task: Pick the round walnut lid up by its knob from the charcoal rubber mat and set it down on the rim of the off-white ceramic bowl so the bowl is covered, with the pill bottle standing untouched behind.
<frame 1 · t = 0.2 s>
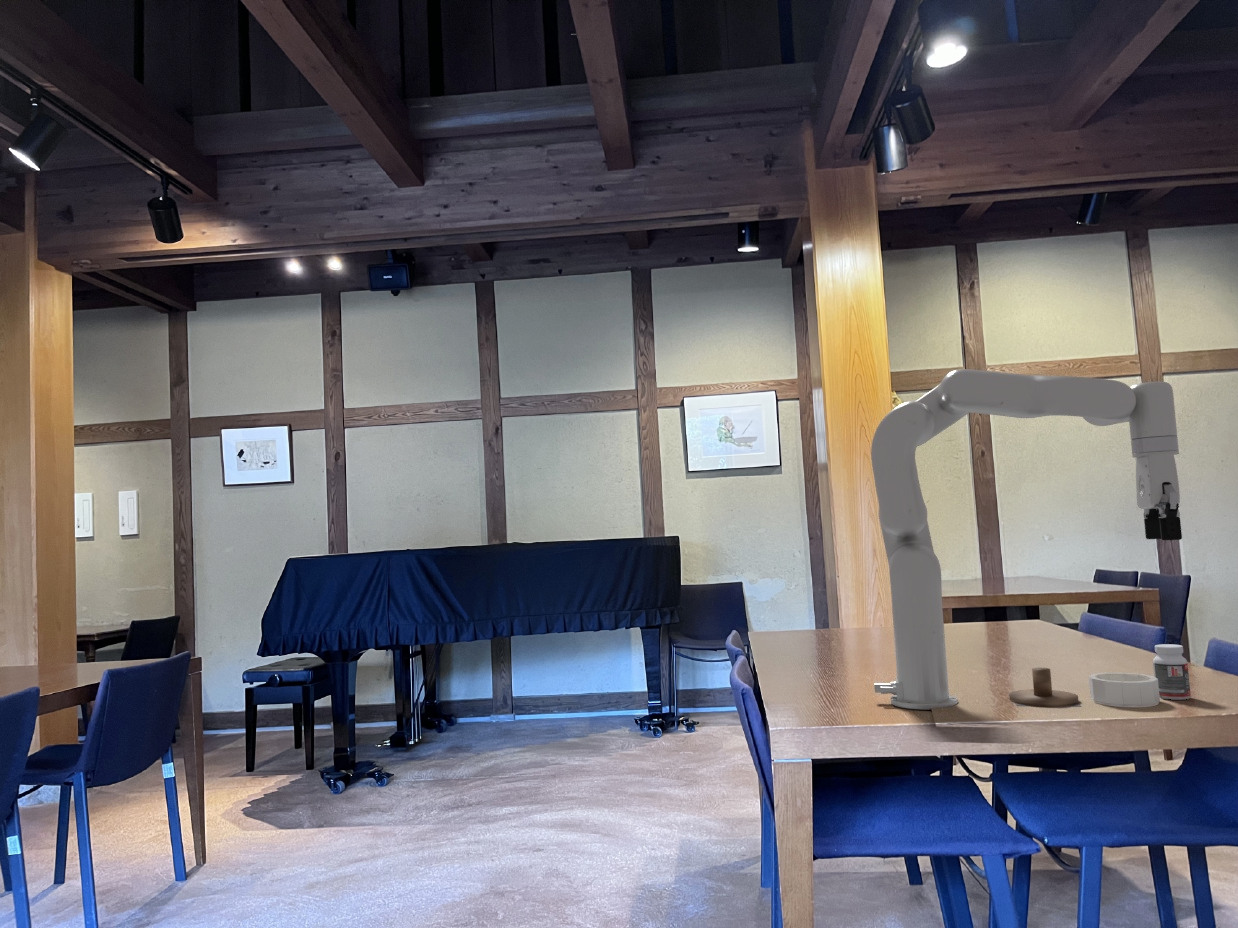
hand: (1163, 539, 164), 31 cm above the table, tool pointing down, fingers open, 9 cm apart
lid: (1043, 700, 170), point 1 cm above the table, touching mat
pill bottle: (1173, 698, 170), on the table
bowl: (1125, 704, 166), on the table
mat: (1043, 703, 170), on the table
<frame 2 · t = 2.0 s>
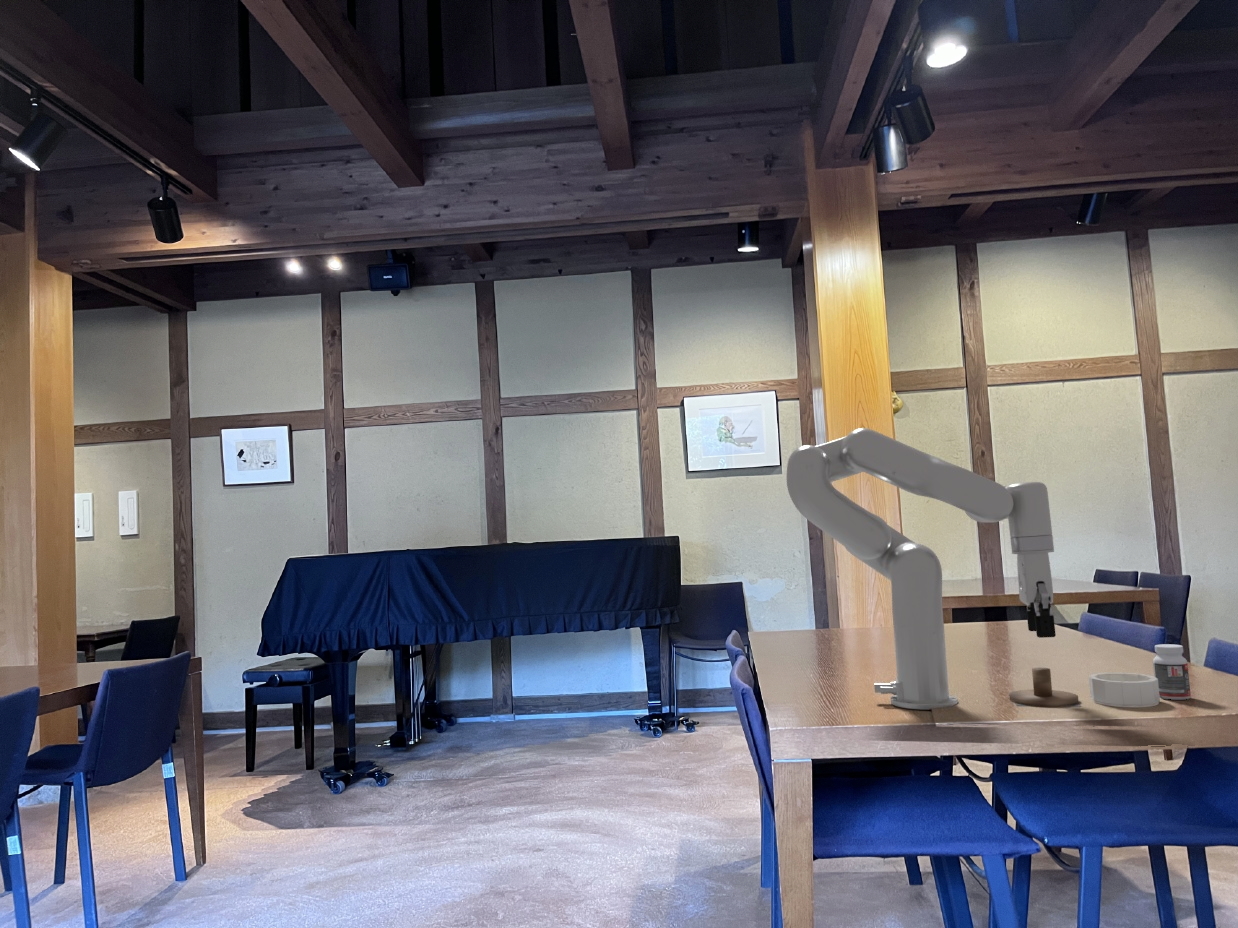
hand: (1041, 633, 171), 13 cm above the table, tool pointing down, fingers open, 9 cm apart
nothing on the table moved.
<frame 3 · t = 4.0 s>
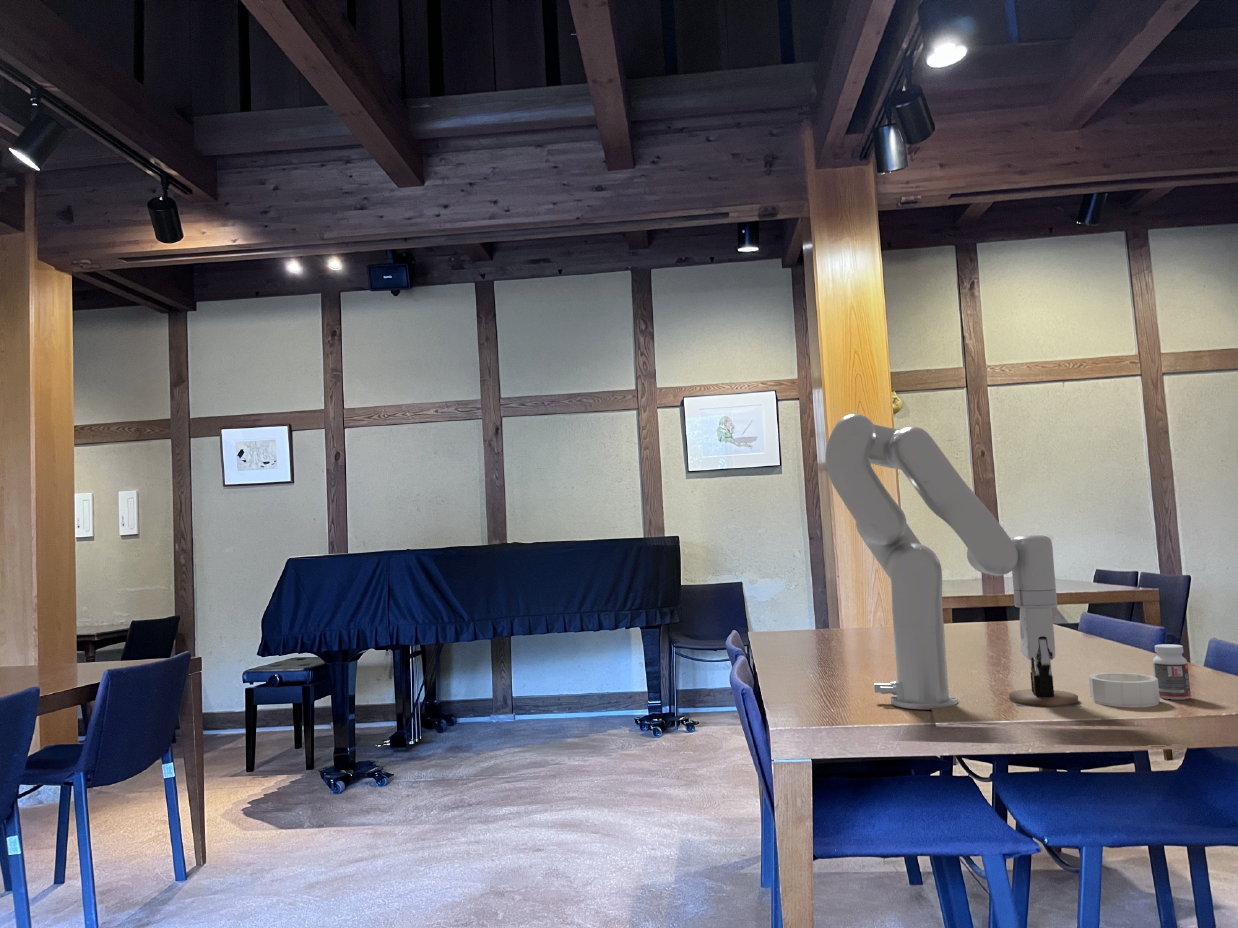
hand: (1042, 693, 170), 2 cm above the table, tool pointing down, fingers closed on lid, 3 cm apart
lid: (1043, 700, 170), point 1 cm above the table, touching gripper, mat
everything else where it was.
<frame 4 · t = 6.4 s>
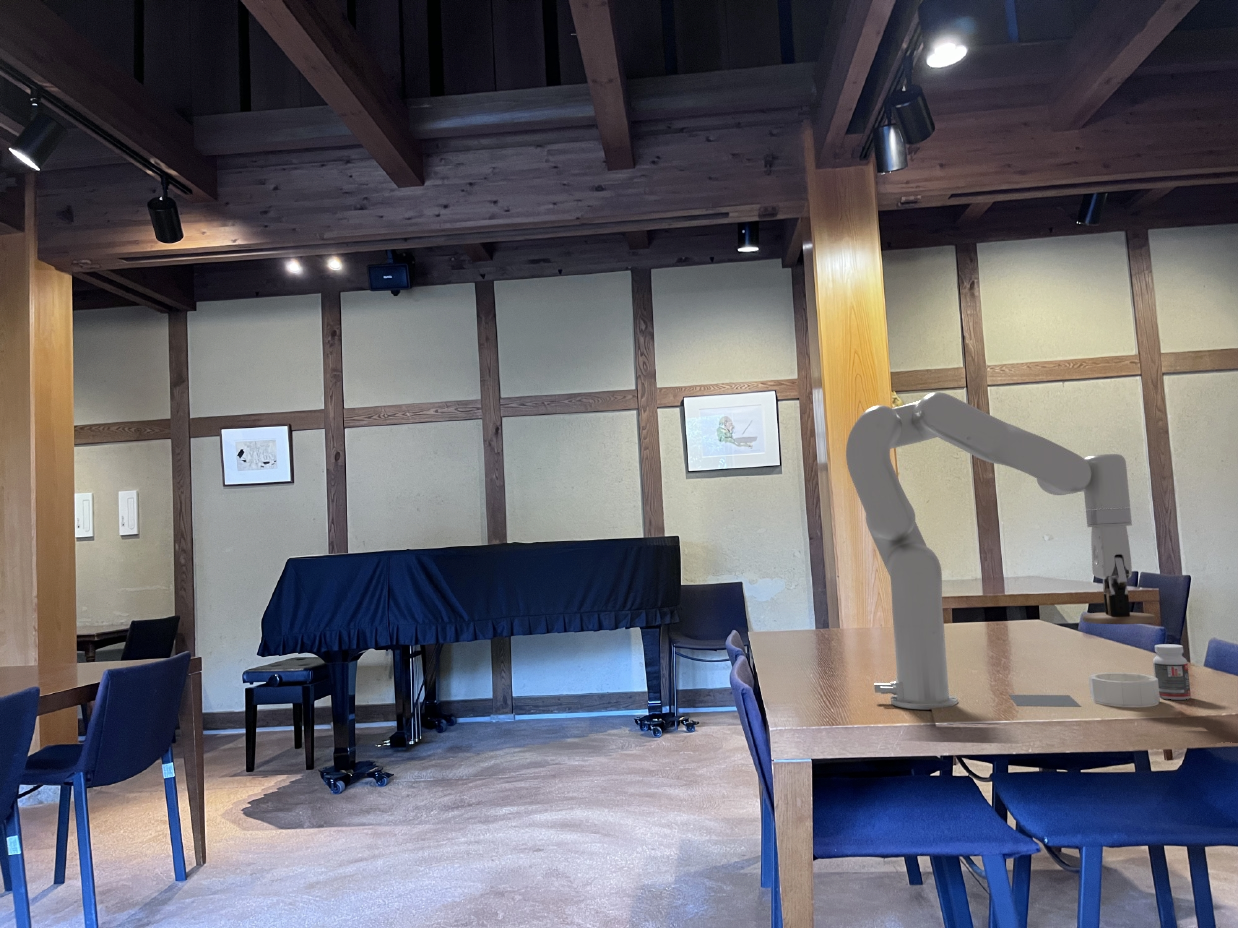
hand: (1117, 614, 167), 17 cm above the table, tool pointing down, fingers closed on lid, 3 cm apart
lid: (1118, 620, 167), point 16 cm above the table, touching gripper
everything else where it was.
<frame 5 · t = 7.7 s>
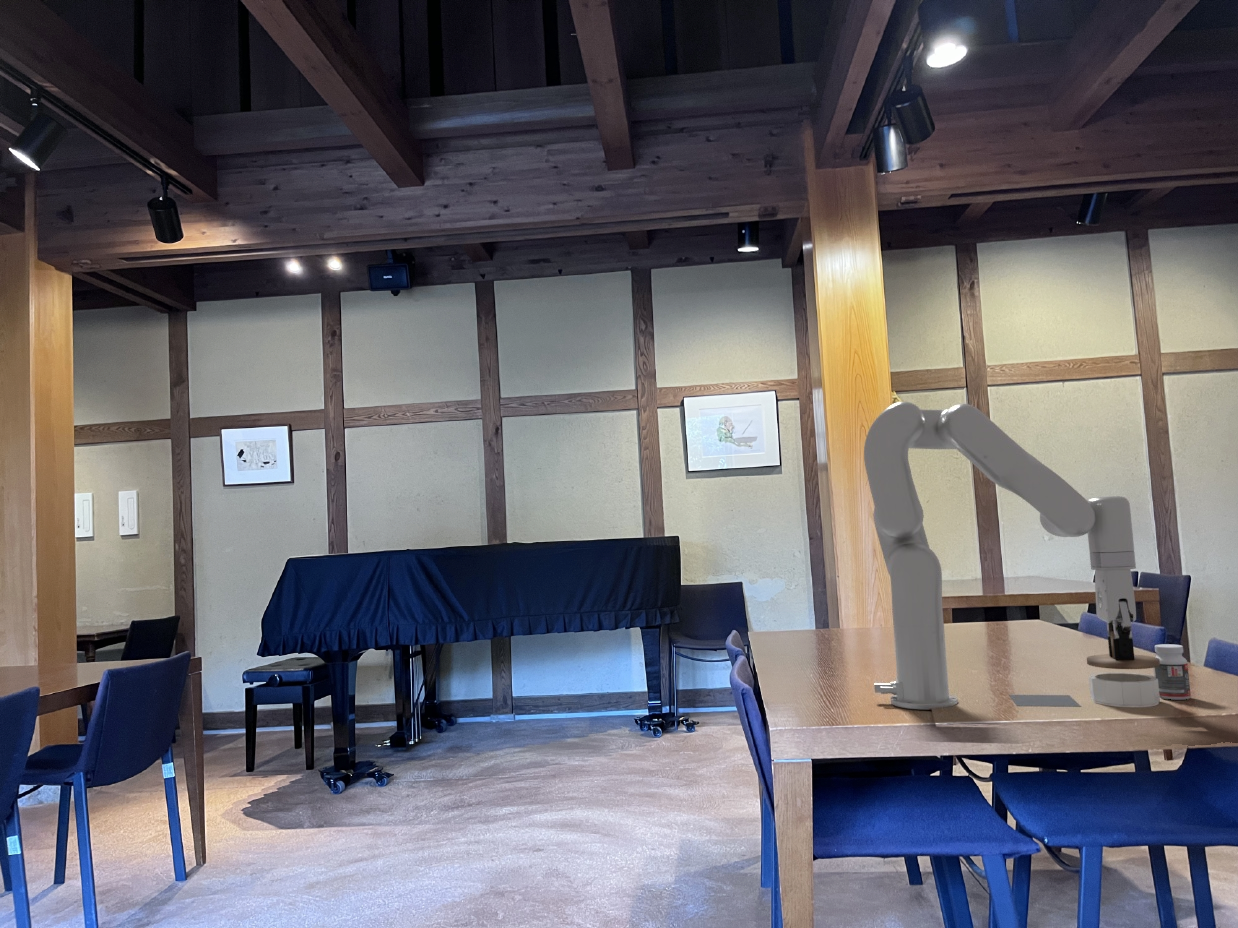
hand: (1121, 657, 167), 9 cm above the table, tool pointing down, fingers closed on lid, 3 cm apart
lid: (1122, 663, 167), point 7 cm above the table, touching gripper
everything else where it was.
when the fingers open (8 cm above the table, at t = 8.6 s): lid drops 1 cm, resting on bowl.
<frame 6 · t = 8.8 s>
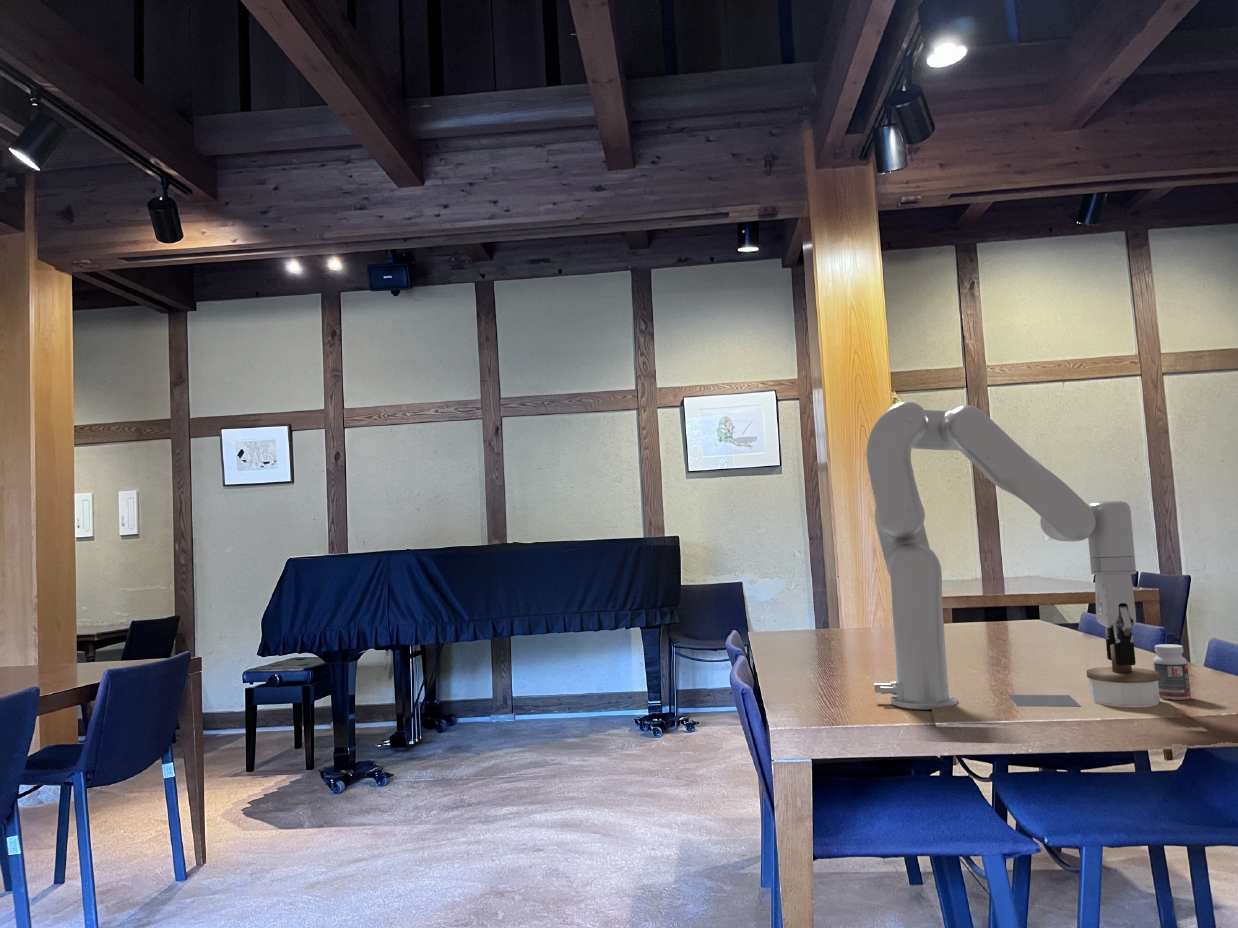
hand: (1121, 661, 167), 8 cm above the table, tool pointing down, fingers open, 5 cm apart
lid: (1122, 677, 167), point 5 cm above the table, touching bowl
everything else where it was.
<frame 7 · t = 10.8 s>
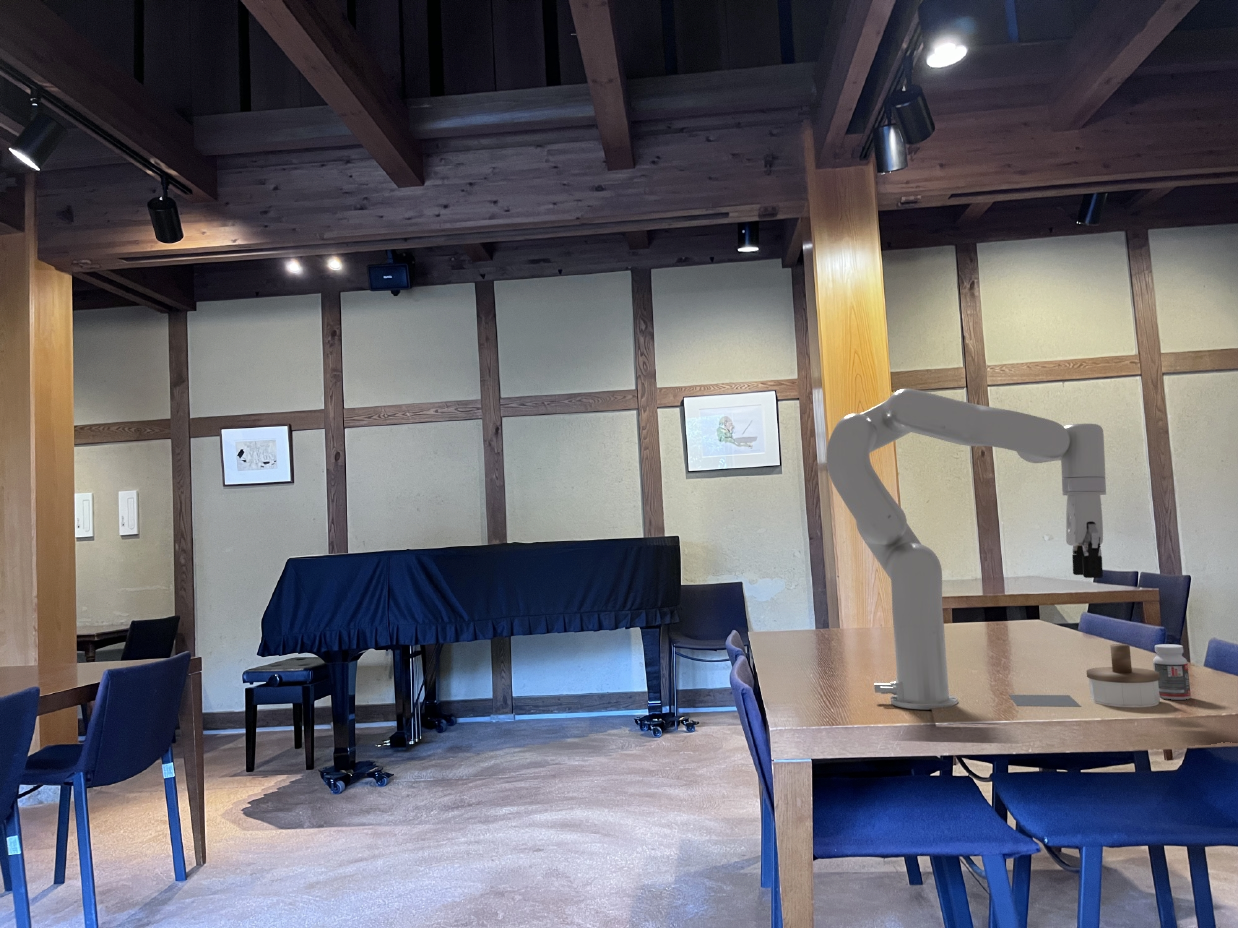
hand: (1087, 576, 170), 24 cm above the table, tool pointing down, fingers open, 9 cm apart
nothing on the table moved.
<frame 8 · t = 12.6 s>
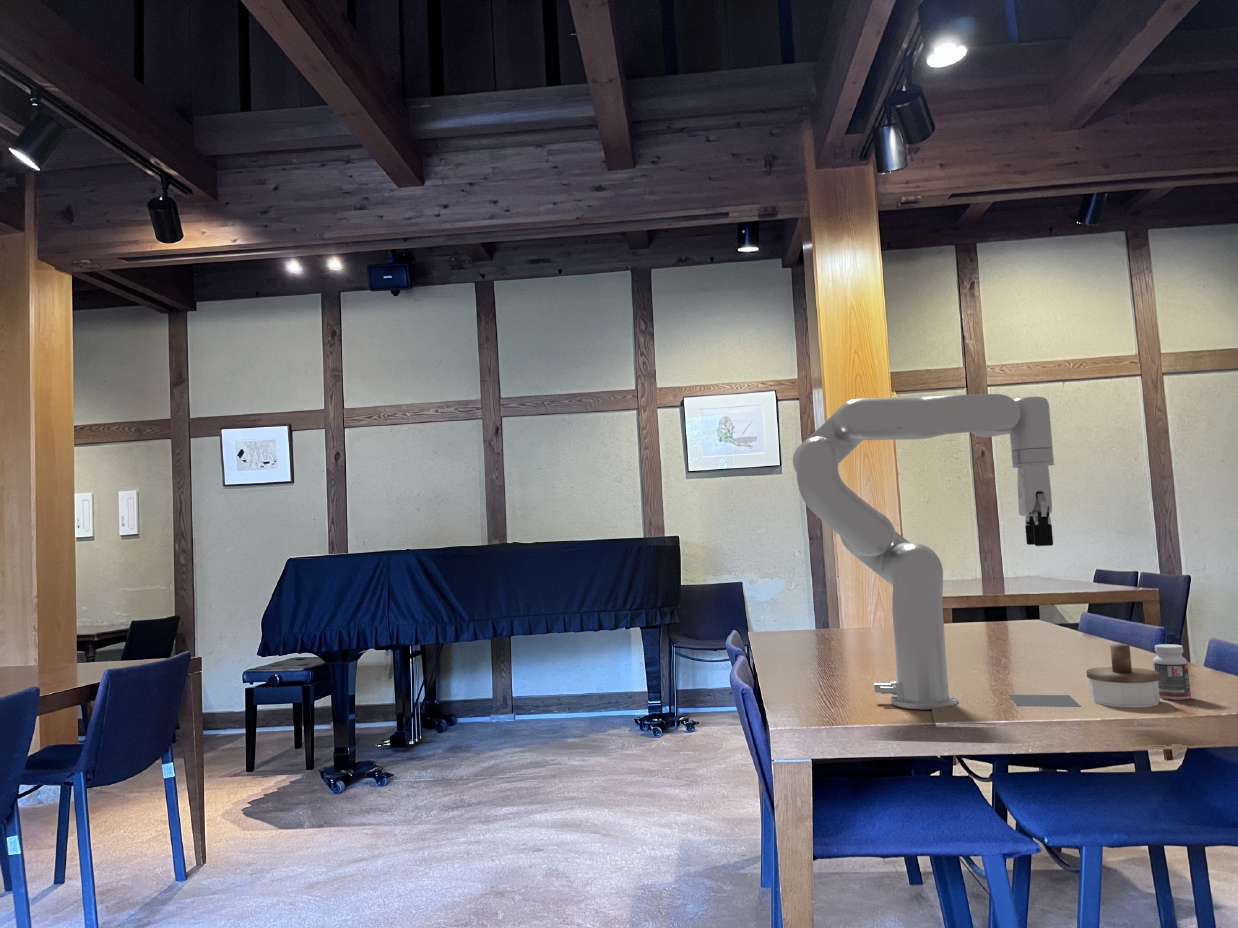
hand: (1039, 545, 175), 30 cm above the table, tool pointing down, fingers open, 9 cm apart
nothing on the table moved.
at the end: lid 0.0 cm off-centre on the bowl, point 5.0 cm above the bowl's base; lid tilted 0°; the gripper is holding nothing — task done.
